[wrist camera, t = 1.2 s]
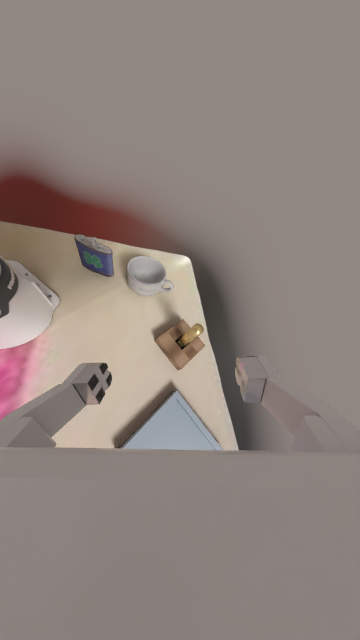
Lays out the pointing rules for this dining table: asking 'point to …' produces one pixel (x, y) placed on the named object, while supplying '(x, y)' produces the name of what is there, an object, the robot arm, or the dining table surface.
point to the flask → (95, 255)
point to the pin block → (173, 350)
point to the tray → (172, 429)
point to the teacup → (147, 276)
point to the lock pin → (190, 335)
